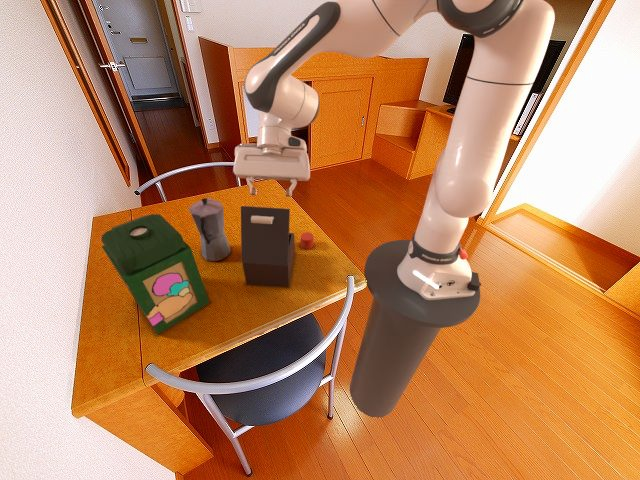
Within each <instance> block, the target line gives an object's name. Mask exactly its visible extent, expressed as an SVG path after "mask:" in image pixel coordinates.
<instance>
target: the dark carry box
mask: <svg viewBox="0 0 640 480" xmlns="http://www.w3.org/2000/svg"><path fill="white" fill-rule="evenodd" d="M295 243H296V242H295V233H294V232H289V252H288V265H272V264H257V263H242V262H241V264H242V269H243V274H244V279H245V285H251V286H264V287H265V286H266V287H279V288H281V287H282V288H289V287H290V283H291V279H292V278H291V277H292V273H293V265H294V261H295V255H296V253H295V251H296V250H295V249H296V247H295Z"/></svg>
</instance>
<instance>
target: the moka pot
mask: <svg viewBox="0 0 640 480" xmlns="http://www.w3.org/2000/svg"><path fill="white" fill-rule="evenodd" d="M188 210H189V212H190V215H191V217H192V219H193V221H194V224H195V227H196V228H197V231H198V233H199V236H200V248H201V256H202V258H204V259H205V260H206V261H210V262H218V261H221V260H223V259H225V258H227V257H228V256H229V255H230V253H231V246H230V244H229V243H230V242H229V241H228V238H227V236H226V232H225V229H224V228H225V216H224V214H225V212H224V206H223V204H222V203H221V201H220V200H214V199H213V198H212V197H210V198H209V197H208V198H207V197H206V198H205V197H204V198H201V200H199V201H195V202H194V203H193V204H192V205H191V206H189V208H188Z"/></svg>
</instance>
